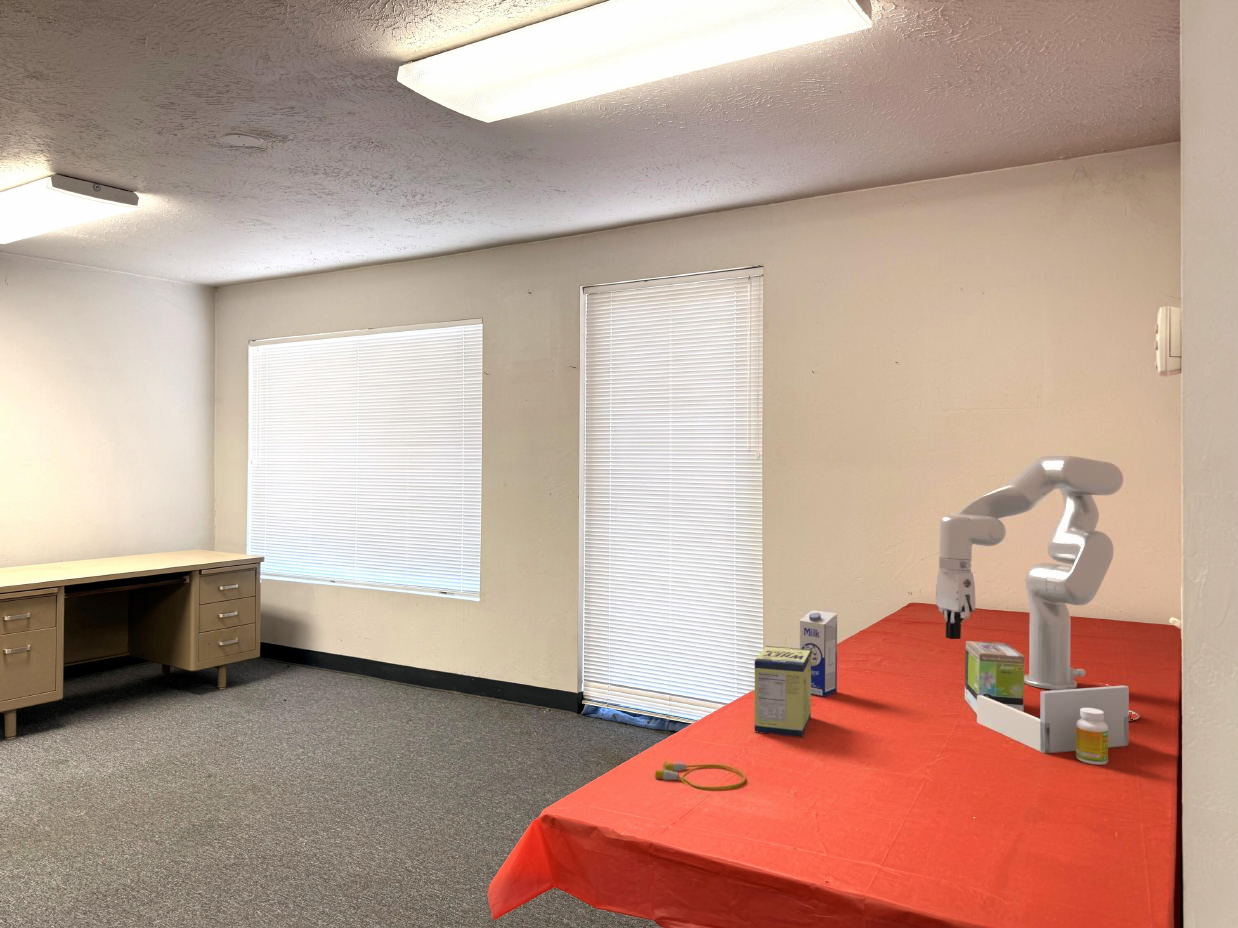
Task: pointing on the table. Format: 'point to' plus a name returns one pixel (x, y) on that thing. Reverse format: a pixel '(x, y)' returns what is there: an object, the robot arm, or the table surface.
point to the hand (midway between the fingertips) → (953, 638)
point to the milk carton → (821, 650)
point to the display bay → (1059, 717)
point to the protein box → (783, 691)
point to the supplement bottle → (1092, 737)
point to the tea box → (994, 674)
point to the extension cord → (671, 767)
